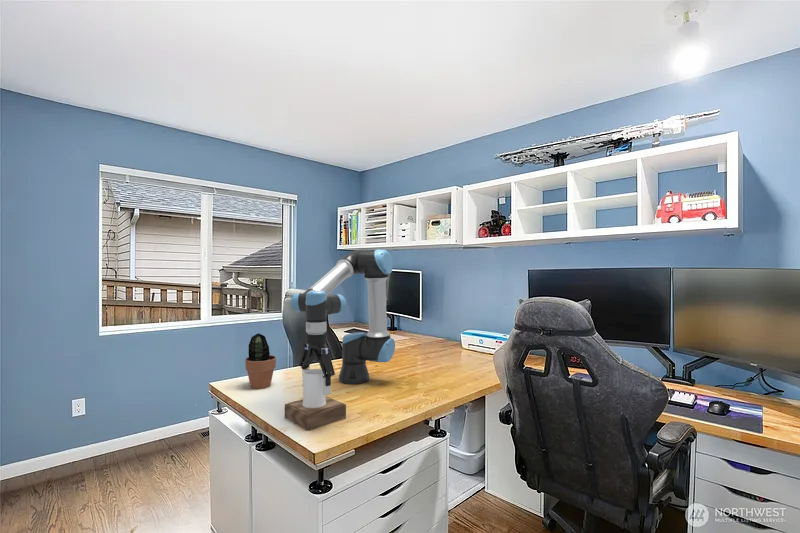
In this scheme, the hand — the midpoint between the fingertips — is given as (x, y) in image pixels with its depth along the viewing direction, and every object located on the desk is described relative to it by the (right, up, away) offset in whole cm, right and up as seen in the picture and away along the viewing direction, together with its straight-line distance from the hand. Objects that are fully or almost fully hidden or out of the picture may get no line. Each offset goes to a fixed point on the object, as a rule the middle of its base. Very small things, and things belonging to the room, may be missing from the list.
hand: (316, 390), depth 142 cm
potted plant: (-34, -10, +38) cm, 52 cm away
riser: (0, -10, 0) cm, 10 cm away
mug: (0, -5, 0) cm, 5 cm away
